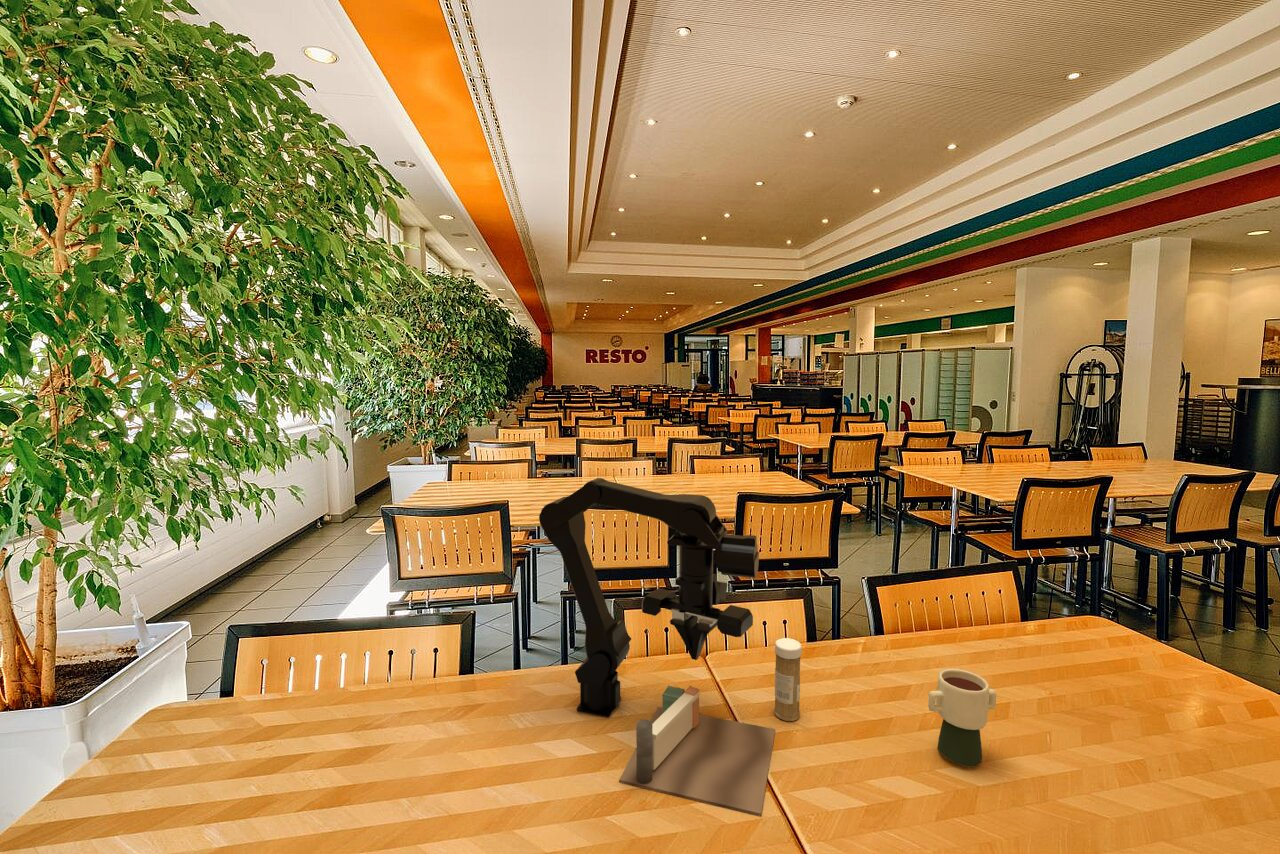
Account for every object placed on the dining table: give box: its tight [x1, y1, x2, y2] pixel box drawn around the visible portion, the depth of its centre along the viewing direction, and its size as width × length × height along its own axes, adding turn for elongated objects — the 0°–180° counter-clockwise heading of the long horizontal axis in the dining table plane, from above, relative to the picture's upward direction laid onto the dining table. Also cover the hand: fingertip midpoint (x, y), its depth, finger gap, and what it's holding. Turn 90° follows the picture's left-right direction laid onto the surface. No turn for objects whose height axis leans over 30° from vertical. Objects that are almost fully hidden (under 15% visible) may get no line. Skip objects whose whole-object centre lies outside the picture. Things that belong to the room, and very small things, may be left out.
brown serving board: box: [618, 685, 776, 817], centre depth 92 cm, size 21×20×9 cm
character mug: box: [927, 668, 997, 768], centre depth 91 cm, size 11×7×13 cm, turn 94°
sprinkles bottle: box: [773, 637, 803, 722], centre depth 103 cm, size 5×5×14 cm
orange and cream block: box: [652, 685, 700, 770], centre depth 94 cm, size 14×2×6 cm, turn 147°
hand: (695, 658), depth 99 cm, fingers closed
